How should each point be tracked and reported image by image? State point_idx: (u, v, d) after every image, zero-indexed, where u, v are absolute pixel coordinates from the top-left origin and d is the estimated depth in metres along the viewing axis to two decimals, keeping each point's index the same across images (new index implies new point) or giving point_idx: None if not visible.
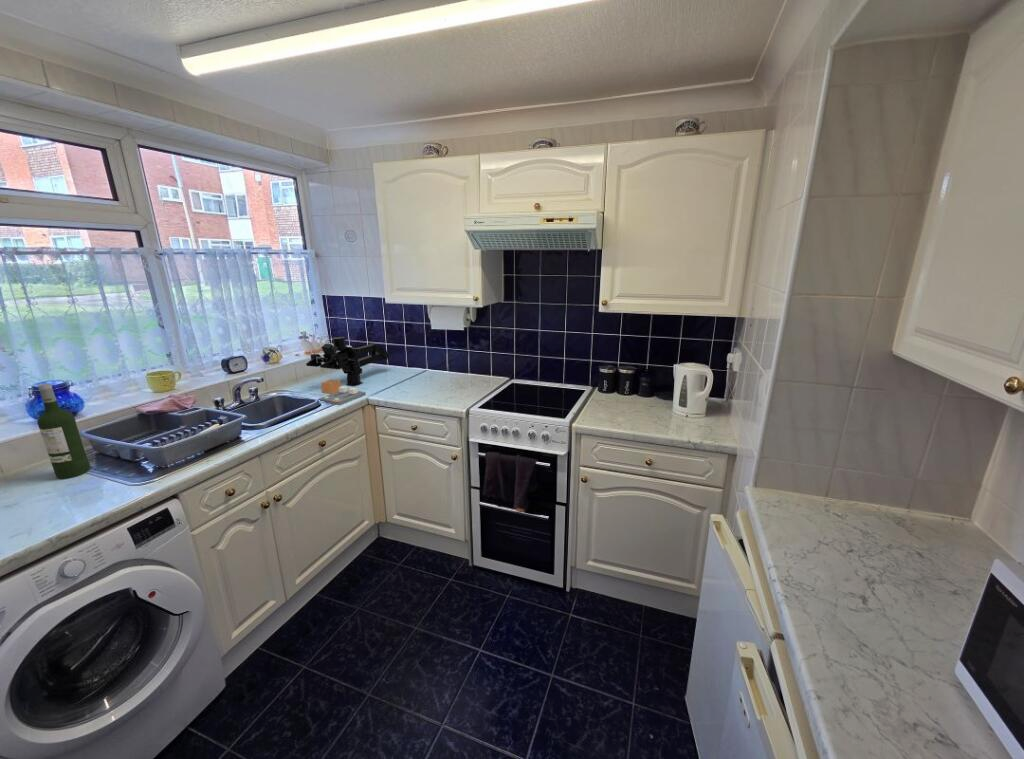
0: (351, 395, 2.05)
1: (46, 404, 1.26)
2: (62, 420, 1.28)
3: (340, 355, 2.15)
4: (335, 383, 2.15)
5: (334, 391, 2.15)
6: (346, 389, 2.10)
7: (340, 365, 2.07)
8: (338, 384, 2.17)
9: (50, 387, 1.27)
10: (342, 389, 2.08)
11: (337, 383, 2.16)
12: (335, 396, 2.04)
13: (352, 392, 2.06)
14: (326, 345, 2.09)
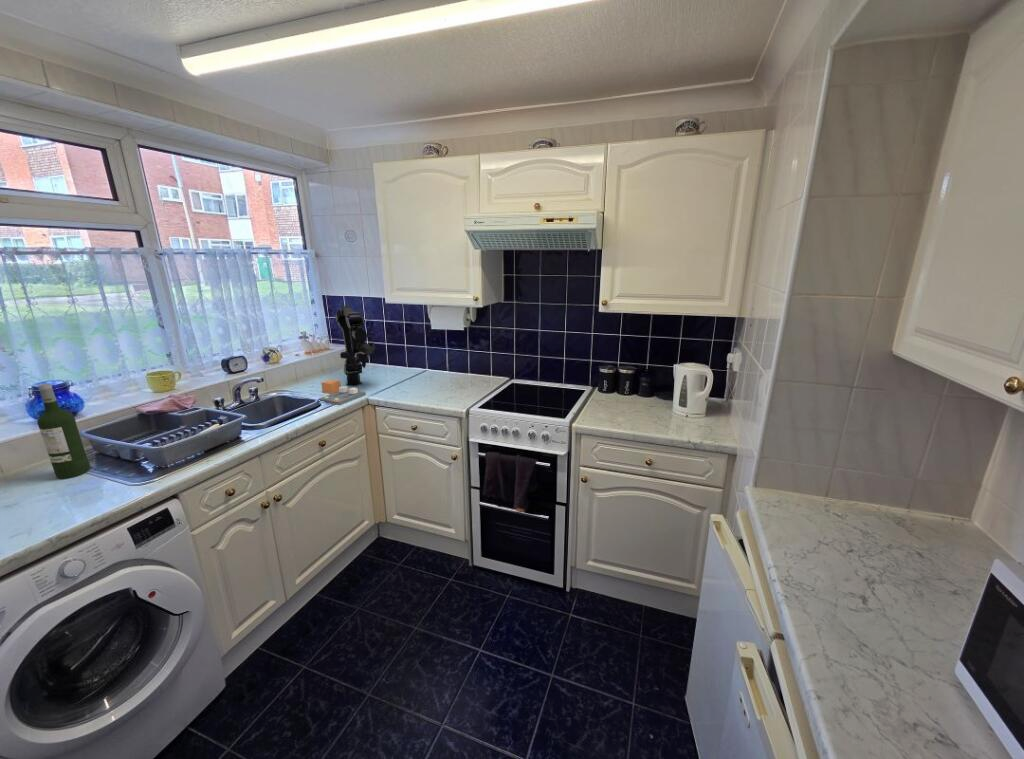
0: (351, 395, 2.05)
1: (46, 404, 1.26)
2: (62, 420, 1.28)
3: None
4: (335, 383, 2.15)
5: (334, 391, 2.15)
6: (346, 389, 2.10)
7: None
8: (338, 384, 2.17)
9: (50, 387, 1.27)
10: (342, 389, 2.08)
11: (337, 383, 2.16)
12: (335, 396, 2.04)
13: (352, 392, 2.06)
14: (370, 351, 2.05)
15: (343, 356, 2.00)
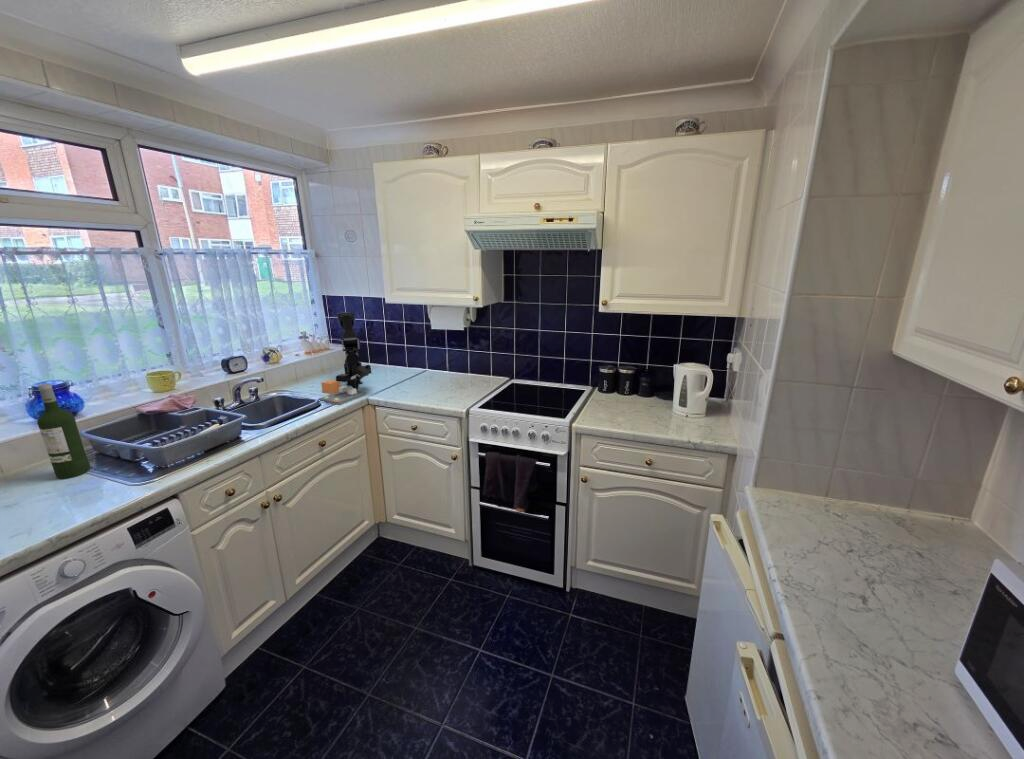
0: (351, 395, 2.05)
1: (46, 404, 1.26)
2: (62, 420, 1.28)
3: None
4: (335, 383, 2.15)
5: (334, 391, 2.15)
6: (346, 389, 2.10)
7: None
8: (338, 384, 2.17)
9: (50, 387, 1.27)
10: (342, 389, 2.08)
11: (337, 383, 2.16)
12: (335, 396, 2.04)
13: (351, 392, 2.05)
14: (366, 373, 2.03)
15: (339, 379, 1.99)
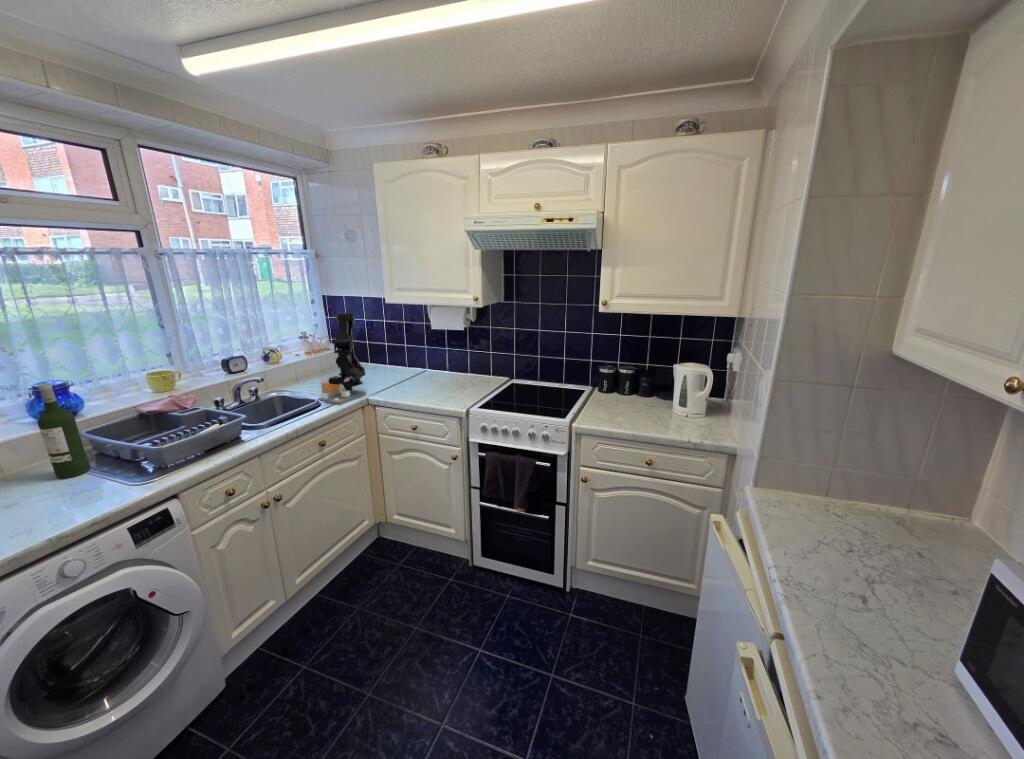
0: (351, 395, 2.05)
1: (46, 404, 1.26)
2: (62, 420, 1.28)
3: None
4: None
5: (334, 391, 2.15)
6: None
7: None
8: None
9: (50, 387, 1.27)
10: (342, 389, 2.08)
11: None
12: (335, 396, 2.04)
13: (344, 395, 2.01)
14: (360, 375, 2.00)
15: (331, 382, 1.95)
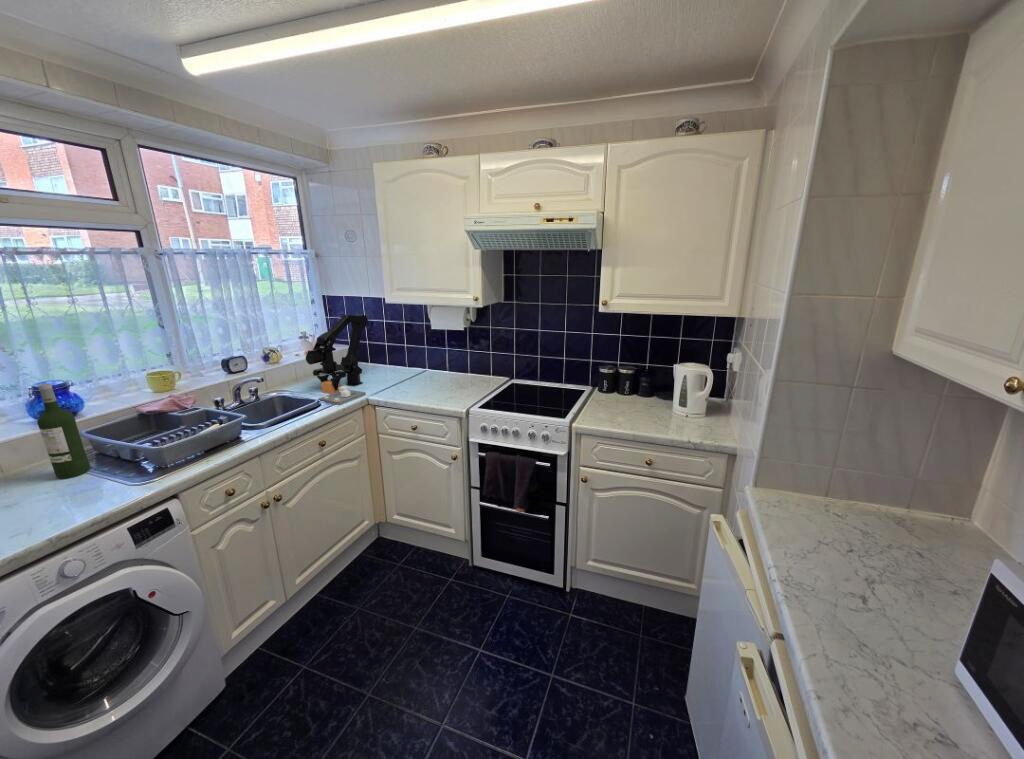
0: (351, 395, 2.05)
1: (46, 404, 1.26)
2: (62, 420, 1.28)
3: None
4: None
5: (334, 391, 2.15)
6: (346, 389, 2.10)
7: None
8: None
9: (50, 387, 1.27)
10: (342, 389, 2.08)
11: None
12: (335, 396, 2.04)
13: (344, 395, 2.01)
14: None
15: (341, 376, 2.10)
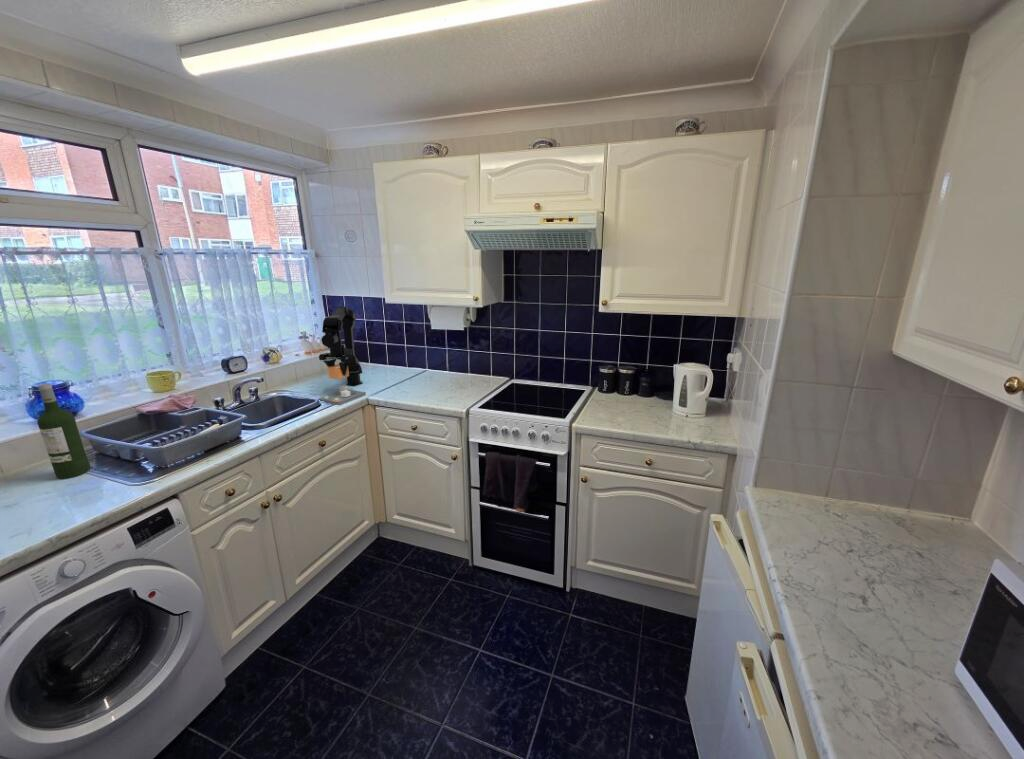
0: (351, 395, 2.05)
1: (46, 404, 1.26)
2: (62, 421, 1.28)
3: None
4: None
5: (342, 376, 2.01)
6: (346, 389, 2.10)
7: None
8: None
9: (50, 387, 1.27)
10: (342, 389, 2.08)
11: None
12: (335, 396, 2.04)
13: (344, 395, 2.01)
14: None
15: (350, 359, 1.97)
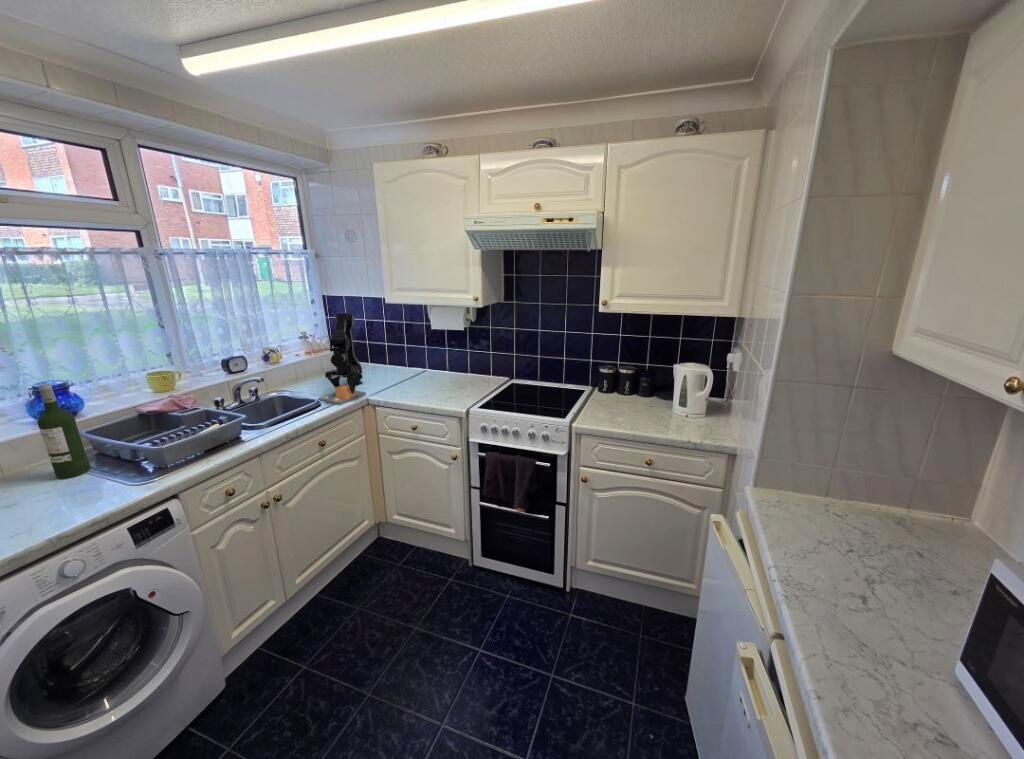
0: None
1: (46, 404, 1.26)
2: (62, 420, 1.28)
3: None
4: None
5: (349, 396, 2.01)
6: None
7: None
8: None
9: (50, 387, 1.27)
10: None
11: None
12: (335, 396, 2.04)
13: None
14: None
15: (357, 378, 1.97)
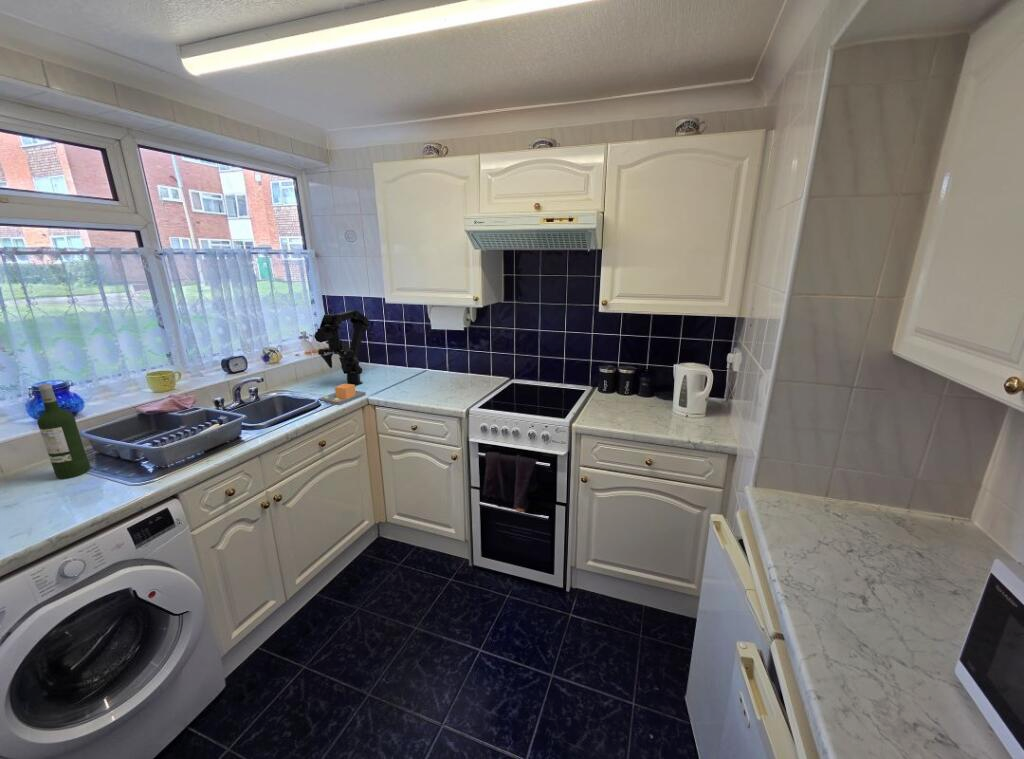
0: None
1: (46, 404, 1.26)
2: (62, 420, 1.28)
3: None
4: (350, 388, 2.01)
5: (349, 396, 2.01)
6: None
7: None
8: (353, 388, 2.03)
9: (50, 387, 1.27)
10: None
11: (352, 387, 2.02)
12: (335, 396, 2.04)
13: None
14: None
15: (348, 354, 2.09)
